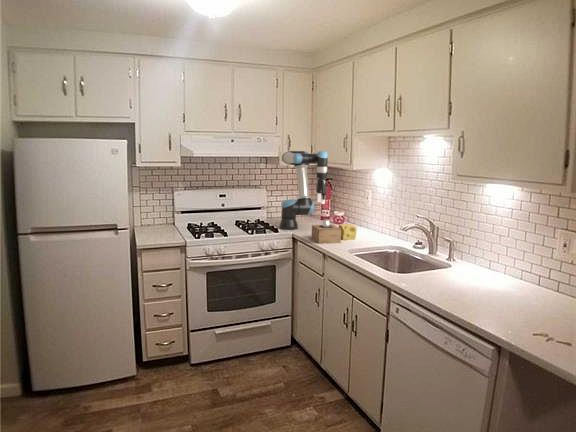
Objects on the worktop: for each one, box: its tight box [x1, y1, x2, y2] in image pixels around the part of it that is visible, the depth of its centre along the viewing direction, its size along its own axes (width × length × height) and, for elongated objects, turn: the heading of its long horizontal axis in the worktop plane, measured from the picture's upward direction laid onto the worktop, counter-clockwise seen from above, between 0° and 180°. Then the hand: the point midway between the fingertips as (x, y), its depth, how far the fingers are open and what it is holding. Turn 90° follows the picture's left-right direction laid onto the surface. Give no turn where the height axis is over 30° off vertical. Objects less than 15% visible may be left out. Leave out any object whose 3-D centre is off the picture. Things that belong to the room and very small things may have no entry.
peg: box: [322, 218, 331, 227], centre depth 303 cm, size 5×5×9 cm
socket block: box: [311, 224, 342, 245], centre depth 304 cm, size 18×16×10 cm
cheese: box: [337, 223, 358, 241], centre depth 313 cm, size 10×11×10 cm
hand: (320, 202), depth 314 cm, fingers open, 9 cm apart
